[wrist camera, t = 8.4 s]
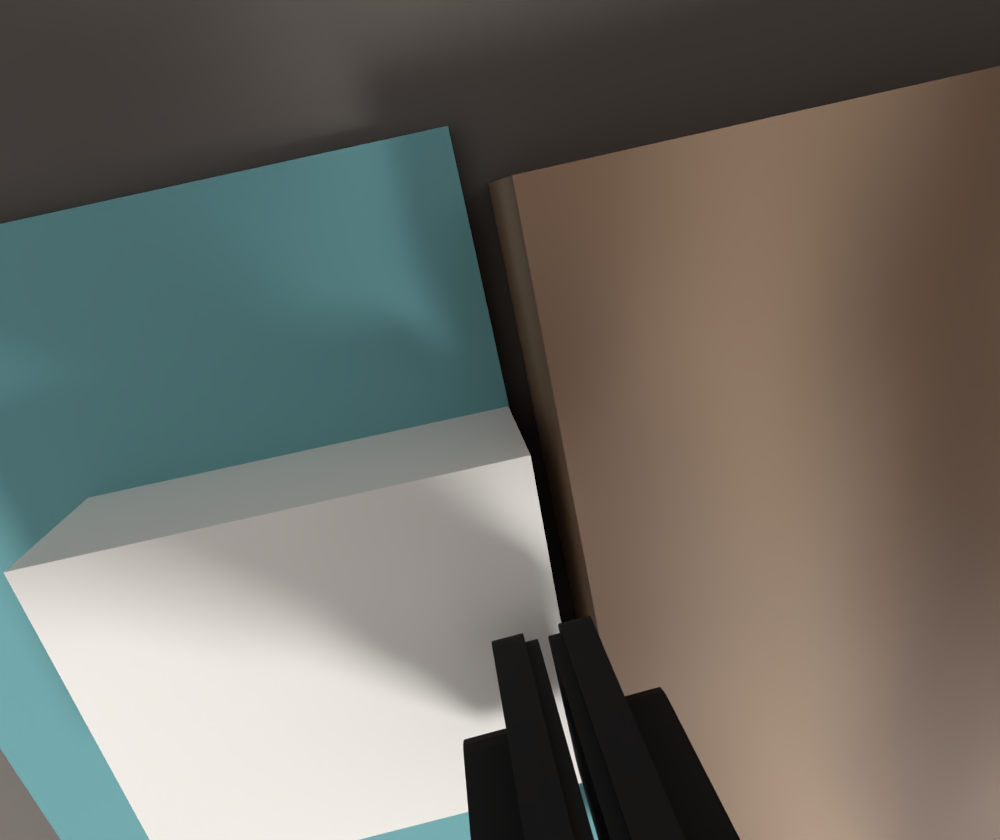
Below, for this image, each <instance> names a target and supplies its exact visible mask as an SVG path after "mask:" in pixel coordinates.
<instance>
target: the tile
mask: <svg viewBox="0 0 1000 840" xmlns="http://www.w3.org/2000/svg"><path fill="white" fill-rule="evenodd" d="M3 573H4V574H5V576H6V578H7V580H8V582H9V584H10V585H11V587H12V589H13V591H14V593H15V595H16V596H17V598H18V600H19V602H20V604H21V606H22V607H23V609H24V611H25V613H26V615H27V617H28V618H29V620H30V622H31V624H32V626H33V628H34V629H35V631H36V633H37V635H38V637H39V639H40V640H41V642H42V644H43V646H44V648H45V649H46V651H47V653H48V655H49V657H50V659H51V660H52V662H53V664H54V666H55V668H56V670H57V671H58V673H59V675H60V677H61V679H62V681H63V682H64V684H65V686H66V688H67V690H68V692H69V693H70V695H71V697H72V699H73V701H74V703H75V704H76V706H77V708H78V710H79V712H80V714H81V715H82V717H83V719H84V721H85V723H86V725H87V726H88V728H89V730H90V732H91V734H92V735H93V737H94V739H95V741H96V743H97V745H98V746H99V748H100V750H101V752H102V754H103V756H104V757H105V759H106V761H107V763H108V765H109V767H110V768H111V770H112V772H113V774H114V776H115V778H116V779H117V781H118V783H119V785H120V787H121V789H122V790H123V792H124V794H125V796H126V798H127V800H128V801H129V803H130V805H131V807H132V809H133V810H134V812H135V814H136V816H137V818H138V820H139V821H140V823H141V825H142V827H143V829H144V831H145V832H146V834H147V836H148V838H149V840H360V839H364V838H368V837H372V836H375V835H379V834H383V833H387V832H391V831H395V830H399V829H403V828H407V827H411V826H415V825H419V824H422V823H426V822H430V821H434V820H438V819H442V818H446V817H450V816H454V815H458V814H462V813H466V812H468V802H467V790H466V778H465V766H464V754H463V741H464V739H468V738H471V737H475V736H479V735H483V734H486V733H490V732H494V731H497V730H501V729H505V728H506V726H505V720H504V714H503V708H502V702H501V696H500V690H499V685H498V679H497V673H496V667H495V661H494V655H493V649H492V641H494V640H498V639H502V638H506V637H509V636H513V635H517V634H521V633H523V635H524V639H525V642H527V641H531V640H535V639H538V641H539V644H540V648H541V651H542V655H543V658H544V662H545V666H546V669H547V673H548V676H549V680H550V683H551V687H552V691H553V694H554V698H555V701H556V705H557V709H558V712H559V716H560V719H561V723H562V726H563V730H564V734H565V737H566V741H567V744H568V748H569V751H570V755H571V759H572V762H573V766H574V769H575V773H576V776H577V780H578V784H579V783H582V781H581V778H580V774H579V770H578V766H577V763H576V759H575V754H574V750H573V746H572V741H571V737H570V732H569V728H568V723H567V719H566V715H565V710H564V706H563V701H562V697H561V692H560V688H559V684H558V679H557V675H556V670H555V666H554V661H553V657H552V653H551V648H550V644H549V639H548V636H550V635H554V634H558V633H559V627H558V624H559V623H561V620H560V614H559V609H558V603H557V598H556V592H555V587H554V581H553V576H552V570H551V565H550V559H549V554H548V548H547V543H546V537H545V532H544V526H543V521H542V515H541V510H540V504H539V499H538V493H537V488H536V482H535V477H534V471H533V466H532V460H531V455H530V453H529V451H528V449H527V446H526V444H525V442H524V440H523V438H522V435H521V433H520V431H519V429H518V427H517V424H516V422H515V420H514V418H513V416H512V413H511V411H510V409H509V407H503V408H498V409H494V410H489V411H485V412H480V413H475V414H471V415H466V416H462V417H457V418H452V419H448V420H443V421H438V422H434V423H429V424H425V425H420V426H415V427H411V428H406V429H402V430H397V431H392V432H388V433H383V434H379V435H374V436H369V437H365V438H360V439H356V440H351V441H346V442H342V443H337V444H333V445H328V446H323V447H319V448H314V449H310V450H305V451H300V452H296V453H291V454H287V455H282V456H277V457H273V458H268V459H264V460H259V461H254V462H250V463H245V464H241V465H236V466H231V467H227V468H222V469H218V470H213V471H208V472H204V473H199V474H195V475H190V476H185V477H181V478H176V479H172V480H167V481H162V482H158V483H153V484H149V485H144V486H139V487H135V488H130V489H126V490H121V491H116V492H112V493H107V494H103V495H98V496H93V497H89V498H87V499H86V500H85V501H84V502H83V503H82V504H80V505H79V506H78V507H77V508H76V509H75V510H74V511H73V512H71V513H70V514H69V515H68V516H67V517H66V518H65V519H63V520H62V521H61V522H60V523H59V524H58V525H57V526H56V527H54V528H53V529H52V530H51V531H50V532H49V533H48V534H46V535H45V536H44V537H43V538H42V539H41V540H40V541H39V542H37V543H36V544H35V545H34V546H33V547H32V548H31V549H29V550H28V551H27V552H26V553H25V554H24V555H23V556H22V557H20V558H19V559H18V560H17V561H16V562H15V563H14V564H12V565H11V566H10V567H9V568H8V569H7V570H6V571H5V572H3Z"/></svg>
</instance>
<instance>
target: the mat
mask: <svg viewBox="0 0 1000 840" xmlns="http://www.w3.org/2000/svg"><path fill="white" fill-rule="evenodd" d="M503 407H509V404H508V399H507V395H506V390H505V385H504V381H503V376H502V372H501V367H500V362H499V358H498V353H497V349H496V344H495V340H494V335H493V330H492V326H491V321H490V317H489V312H488V307H487V303H486V298H485V294H484V289H483V284H482V280H481V275H480V271H479V266H478V262H477V257H476V252H475V248H474V243H473V239H472V234H471V229H470V225H469V220H468V216H467V211H466V206H465V202H464V197H463V193H462V188H461V184H460V179H459V174H458V170H457V165H456V161H455V156H454V151H453V147H452V142H451V138H450V133H449V128H448V126H444V127H440V128H435V129H431V130H426V131H422V132H417V133H413V134H408V135H403V136H399V137H394V138H390V139H385V140H381V141H376V142H371V143H367V144H362V145H358V146H353V147H349V148H344V149H340V150H335V151H330V152H326V153H321V154H317V155H312V156H308V157H303V158H298V159H294V160H289V161H285V162H280V163H276V164H271V165H267V166H262V167H257V168H253V169H248V170H244V171H239V172H235V173H230V174H226V175H221V176H216V177H212V178H207V179H203V180H198V181H194V182H189V183H184V184H180V185H175V186H171V187H166V188H162V189H157V190H153V191H148V192H143V193H139V194H134V195H130V196H125V197H121V198H116V199H111V200H107V201H102V202H98V203H93V204H89V205H84V206H80V207H75V208H70V209H66V210H61V211H57V212H52V213H48V214H43V215H39V216H34V217H29V218H25V219H20V220H16V221H11V222H7V223H2V224H0V749H1V750H2V752H3V753H4V755H5V756H6V758H7V759H8V761H9V762H10V764H11V765H12V767H13V768H14V770H15V771H16V773H17V774H18V776H19V778H20V779H21V781H22V782H23V784H24V785H25V787H26V788H27V790H28V791H29V793H30V794H31V796H32V797H33V799H34V800H35V802H36V803H37V805H38V806H39V808H40V809H41V811H42V812H43V814H44V815H45V817H46V818H47V820H48V821H49V823H50V824H51V826H52V827H53V829H54V830H55V832H56V833H57V835H58V836H59V838H60V839H61V840H149V838H148V836H147V834H146V832H145V831H144V829H143V827H142V825H141V823H140V821H139V820H138V818H137V816H136V814H135V812H134V810H133V809H132V807H131V805H130V803H129V801H128V800H127V798H126V796H125V794H124V792H123V790H122V789H121V787H120V785H119V783H118V781H117V779H116V778H115V776H114V774H113V772H112V770H111V768H110V767H109V765H108V763H107V761H106V759H105V757H104V756H103V754H102V752H101V750H100V748H99V746H98V745H97V743H96V741H95V739H94V737H93V735H92V734H91V732H90V730H89V728H88V726H87V725H86V723H85V721H84V719H83V717H82V715H81V714H80V712H79V710H78V708H77V706H76V704H75V703H74V701H73V699H72V697H71V695H70V693H69V692H68V690H67V688H66V686H65V684H64V682H63V681H62V679H61V677H60V675H59V673H58V671H57V670H56V668H55V666H54V664H53V662H52V660H51V659H50V657H49V655H48V653H47V651H46V649H45V648H44V646H43V644H42V642H41V640H40V639H39V637H38V635H37V633H36V631H35V629H34V628H33V626H32V624H31V622H30V620H29V618H28V617H27V615H26V613H25V611H24V609H23V607H22V606H21V604H20V602H19V600H18V598H17V596H16V595H15V593H14V591H13V589H12V587H11V585H10V584H9V582H8V580H7V578H6V576H5V574H4V573H3V572H5V571H6V570H7V569H8V568H9V567H10V566H11V565H12V564H14V563H15V562H16V561H17V560H18V559H19V558H20V557H22V556H23V555H24V554H25V553H26V552H27V551H28V550H29V549H31V548H32V547H33V546H34V545H35V544H36V543H37V542H39V541H40V540H41V539H42V538H43V537H44V536H45V535H46V534H48V533H49V532H50V531H51V530H52V529H53V528H54V527H56V526H57V525H58V524H59V523H60V522H61V521H62V520H63V519H65V518H66V517H67V516H68V515H69V514H70V513H71V512H73V511H74V510H75V509H76V508H77V507H78V506H79V505H80V504H82V503H83V502H84V501H85V500H86V499H87V498H89V497H93V496H98V495H103V494H107V493H112V492H116V491H121V490H126V489H130V488H135V487H139V486H144V485H149V484H153V483H158V482H162V481H167V480H172V479H176V478H181V477H185V476H190V475H195V474H199V473H204V472H208V471H213V470H218V469H222V468H227V467H231V466H236V465H241V464H245V463H250V462H254V461H259V460H264V459H268V458H273V457H277V456H282V455H287V454H291V453H296V452H300V451H305V450H310V449H314V448H319V447H323V446H328V445H333V444H337V443H342V442H346V441H351V440H356V439H360V438H365V437H369V436H374V435H379V434H383V433H388V432H392V431H397V430H402V429H406V428H411V427H415V426H420V425H425V424H429V423H434V422H438V421H443V420H448V419H452V418H457V417H462V416H466V415H471V414H475V413H480V412H485V411H489V410H494V409H498V408H503ZM509 409H510V408H509ZM579 787H580V791H581V794H582V798H583V801H584V805H585V809H586V812H587V816H588V819H589V823H590V826H591V830H592V834H593V837H594V840H598V837H597V834H596V830H595V827H594V823H593V820H592V816H591V813H590V809H589V806H588V802H587V799H586V795H585V792H584V788H583V785H582V783H579ZM360 840H471V837H470V825H469V814H468V812H466V813H462V814H458V815H454V816H450V817H446V818H442V819H438V820H434V821H430V822H426V823H422V824H419V825H415V826H411V827H407V828H403V829H399V830H395V831H391V832H387V833H383V834H379V835H375V836H372V837H368V838H364V839H360Z"/></svg>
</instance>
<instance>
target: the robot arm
mask: <svg viewBox="0 0 1000 840" xmlns="http://www.w3.org/2000/svg"><path fill="white" fill-rule="evenodd" d="M558 627H559V633H558V634H554V635H550V636H548V639H549V644H550V648H551V653H552V657H553V661H554V666H555V670H556V675H557V679H558V684H559V688H560V692H561V697H562V701H563V706H564V710H565V715H566V719H567V723H568V728H569V732H570V737H571V741H572V746H573V750H574V754H575V759H576V763H577V766H578V770H579V774H580V778H581V781H582V785H583V788H584V792H585V795H586V799H587V802H588V806H589V809H590V813H591V816H592V820H593V823H594V827H595V830H596V834H597V837H598V840H740V838H739V836H738V834H737V832H736V830H735V828H734V826H733V824H732V822H731V820H730V818H729V817H728V815H727V813H726V811H725V809H724V807H723V805H722V803H721V801H720V799H719V797H718V795H717V793H716V791H715V789H714V787H713V785H712V783H711V781H710V779H709V777H708V775H707V773H706V772H705V770H704V768H703V766H702V764H701V762H700V760H699V758H698V756H697V754H696V752H695V750H694V748H693V746H692V744H691V742H690V740H689V738H688V736H687V734H686V732H685V730H684V728H683V726H682V725H681V723H680V721H679V719H678V717H677V715H676V713H675V711H674V709H673V707H672V705H671V703H670V701H669V699H668V697H667V696H666V694H665V692H664V691H663V690H662V688H661V687H657V688H653V689H650V690H646V691H642V692H639V693H635V694H631V695H627V696H624V693H623V691H622V689H621V686H620V684H619V682H618V679H617V677H616V675H615V672H614V670H613V668H612V665H611V663H610V660H609V658H608V656H607V653H606V651H605V649H604V646H603V644H602V642H601V639H600V637H599V635H598V632H597V630H596V627H595V625H594V623H593V620H592V618H591V617H590V616H586V617H582V618H578V619H574V620H571V621H567V622H563V623H559V624H558ZM492 649H493V655H494V661H495V667H496V673H497V679H498V685H499V690H500V696H501V702H502V708H503V714H504V720H505V726H506V728H505V729H501V730H497V731H494V732H490V733H486V734H483V735H479V736H475V737H471V738H468V739H464V741H463V754H464V766H465V778H466V790H467V802H468V814H469V825H470V837H471V840H594V837H593V834H592V830H591V826H590V823H589V819H588V816H587V812H586V809H585V805H584V801H583V798H582V794H581V791H580V787H579V784H578V780H577V776H576V773H575V769H574V766H573V762H572V759H571V755H570V751H569V748H568V744H567V741H566V737H565V734H564V730H563V726H562V723H561V719H560V716H559V712H558V709H557V705H556V701H555V698H554V694H553V691H552V687H551V683H550V680H549V676H548V673H547V669H546V666H545V662H544V658H543V655H542V651H541V648H540V644H539V641H538V639H535V640H531V641H527V642H525V639H524V635H523V633H521V634H517V635H513V636H509V637H506V638H502V639H498V640H494V641H492Z"/></svg>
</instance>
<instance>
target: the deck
mask: <svg viewBox="0 0 1000 840" xmlns="http://www.w3.org/2000/svg"><path fill="white" fill-rule="evenodd" d="M488 188H489V193H490V197H491V202H492V207H493V212H494V217H495V222H496V227H497V232H498V237H499V242H500V247H501V252H502V256H503V261H504V266H505V271H506V276H507V281H508V286H509V291H510V296H511V301H512V306H513V311H514V315H515V320H516V325H517V330H518V335H519V340H520V345H521V350H522V355H523V360H524V365H525V370H526V374H527V379H528V384H529V389H530V394H531V399H532V404H533V409H534V414H535V419H536V424H537V429H538V433H539V438H540V443H541V448H542V453H543V458H544V463H545V468H546V473H547V478H548V483H549V487H550V492H551V497H552V502H553V507H554V512H555V517H556V522H557V527H558V532H559V537H560V542H561V546H562V551H563V556H564V561H565V566H566V571H567V576H568V581H569V586H570V591H571V596H572V601H573V605H574V610H575V615H576V619H578V618H582V617H586V616H590V617H591V618H592V620H593V623H594V625H595V627H596V630H597V632H598V635H599V637H600V639H601V642H602V644H603V646H604V649H605V651H606V653H607V656H608V658H609V660H610V663H611V665H612V668H613V670H614V672H615V675H616V677H617V679H618V682H619V684H620V686H621V689H622V691H623V693H624V696H627V695H631V694H635V693H639V692H642V691H646V690H650V689H653V688H657V687H661V688H662V690H663V691H664V692H665V694H666V696H667V697H668V699H669V701H670V703H671V705H672V707H673V709H674V711H675V713H676V715H677V717H678V719H679V721H680V723H681V725H682V726H683V728H684V730H685V732H686V734H687V736H688V738H689V740H690V742H691V744H692V746H693V748H694V750H695V752H696V754H697V756H698V758H699V760H700V762H701V764H702V766H703V768H704V770H705V772H706V773H707V775H708V777H709V779H710V781H711V783H712V785H713V787H714V789H715V791H716V793H717V795H718V797H719V799H720V801H721V803H722V805H723V807H724V809H725V811H726V813H727V815H728V817H729V818H730V820H731V822H732V824H733V826H734V828H735V830H736V832H737V834H738V836H739V838H740V840H997V839H1000V66H997V67H992V68H988V69H983V70H979V71H974V72H970V73H966V74H961V75H957V76H952V77H948V78H943V79H939V80H934V81H930V82H925V83H921V84H917V85H912V86H908V87H903V88H899V89H894V90H890V91H885V92H881V93H876V94H872V95H868V96H863V97H859V98H854V99H850V100H845V101H841V102H836V103H832V104H827V105H823V106H819V107H814V108H810V109H805V110H801V111H796V112H792V113H787V114H783V115H778V116H774V117H769V118H765V119H761V120H756V121H752V122H747V123H743V124H738V125H734V126H729V127H725V128H720V129H716V130H712V131H707V132H703V133H698V134H694V135H689V136H685V137H680V138H676V139H671V140H667V141H663V142H658V143H654V144H649V145H645V146H640V147H636V148H631V149H627V150H622V151H618V152H614V153H609V154H605V155H600V156H596V157H591V158H587V159H582V160H578V161H573V162H569V163H565V164H560V165H556V166H551V167H547V168H542V169H538V170H533V171H529V172H524V173H520V174H515V175H511V176H508V177H505V178H502V179H499V180H497V181H494V182H491V183H488Z"/></svg>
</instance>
